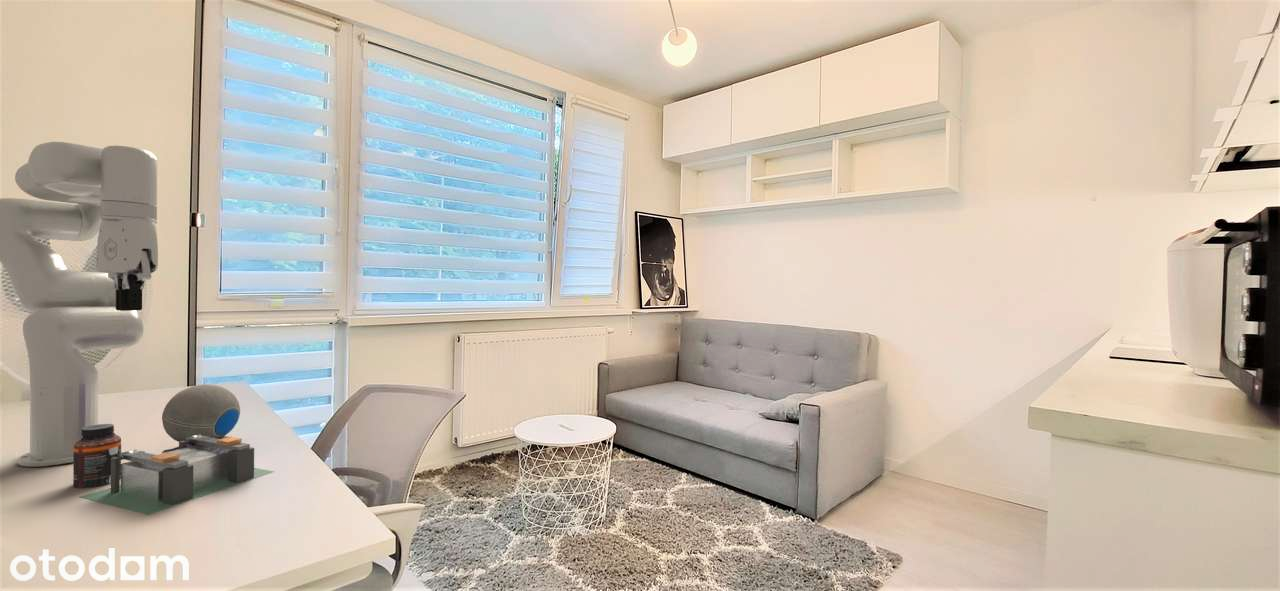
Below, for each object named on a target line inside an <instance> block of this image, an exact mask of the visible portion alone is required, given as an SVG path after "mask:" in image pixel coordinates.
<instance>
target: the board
mask: <svg viewBox="0 0 1280 591" xmlns="http://www.w3.org/2000/svg"><path fill="white" fill-rule="evenodd" d="M205 437H207V436H205ZM178 447H179V449H182V448H186V447H187V441H179V442H178ZM139 452H144V453H146V452H145V451H144V450H139ZM274 472H275V471H274V470H268V469H263V468H260V467H259V468H257V467H255V447H250V448H249V449H246V450H242V451H233V450H230V451H228V479H226V480H223V481H220V482H217V483H214V484H211V485H208V486H205V487H202V488H199V489H196V490H193V465H190V464H188V466H185V467H182V468H178V469H175V470H173V469H168V468H165V469H163V500H162V501H159V502H158V501H153V500H149V499H145V498H141V497H137V496H133V495H128V494H124V493H121V479H120V458H119V457H113V458H111V484H110V487H109V488H106V489H101V490H98V491H95V492H91V493H87V494H84V495H80V496H79V498H81V499H84V500H89V501H93V502H97V503H100V504H104V505H108V506H112V507H116V508H120V509H124V510H129V511H131V512H136V513H140V514H143V515H151V514H153V513H156V512H160V511H162V510H167V509H170V508H172V507H174V506H177V505H181V504H183V503H187V502H190V501H192V500H195V499H198V498H202V497H205V496H207V495H210V494H213V493H216V492H218V491H222V490H224V489H225V490H226V489H228V488H230V487H234V486H236V485H239V484H243V483H245V482H248V481H251V480H252V481H253V480H254V479H257V478H260V477H264V476H266V475H269V474H272V473H274Z"/></svg>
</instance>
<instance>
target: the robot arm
mask: <svg viewBox="0 0 1280 591" xmlns="http://www.w3.org/2000/svg"><path fill="white" fill-rule="evenodd" d="M14 181H15V183H16V185H17V186H18V188H19V189H20V190H21V191H23V192H24V193H25V194H27V195H29V196H31V197H34V198H36V199H35V200H34V199H27V198H14V197H11V198H9V197H8V198H7V197H6V198H5V197H3V198H2V197H1V198H0V264H1V265H2V266H3V267H4V268H5V270H6V272H7V275H8V277H9V280H10V282H11V284H12V287H13V289H14V291H15V293H16V296H17V297H18V299H19V302H20V303H21V305H22V307H23V308H25V309H26V310H27V311H29V312H31V313H30V314H29V315H28V316H27V317H25V319H24V320H23V322H22V336H23V338H24V342H25V346H26V352H27V355H28V365H29V452H28V453H24V454H23V455H21V456H19V457H18V458H17V465H19V466H21V467H28V468H29V467H31V468H34V467H35V468H36V467H49V466H58V465H59V466H60V465H65V464H70V463H73V453H74V444H75V443H76V442H77V441H78V440H80V439H82V437H83V436H82V435H81V434H82V428H84V427H88V426H92V425H99V373H98V370H97V367H96V366H95V365H94V364H93V362H91V361H89V360H88V358H86V357H85V356H84V355H83V354H82V353H84V352H90V351H104V350H116V349H123V348H124V349H125V348H130V347H132V346H135V345H136V344H139V342H140V341H141V340H142V338H143V335H144V324H143V320H142V317H141V315H140V313H139V311H141V310H143V290H144V289H145V282H146V281H148V280H151V278H152V273H155V272H156V271H157V270H158V266H159V246H158V234H157V228H156V225H157V223H158V159H157V157H156V155H155V154H153V152H151V151H148V150H147V149H143V148H137V147H133V146H127V145H125V146H124V145H108V146H106V147H104V148H99V147H93V146H88V145H84V144H83V145H82V144H78V143H77V144H76V143H72V142H67V141H66V142H65V141H48V142H44V143H40V144H37V145H36V146H35V147H34V148H33V149H32V151H31V152H30V154H29V157H28V161H27V163H25V164H22V165H21V166H20V167H19V168H18V169H17V170H16V172H15V175H14ZM37 199H39V200H37ZM96 235H97V236H98V237H97V244H96V257H95V258H96V259H95V268H96V269H97V271H82V270H81V271H78V270H71V269H69V268H68V267H67V265H66V262H65V261H64V259H63V257H62V256H61V255H60V254H59V253H58V252H56V250H54V249H52V248H51V247H49V246H47V245H46V244H44V243H42V242H40V241H38V240H36V239H41V240H56V241H72V242H73V241H74V242H85V241H88V240H92V239H94V237H95V236H96Z"/></svg>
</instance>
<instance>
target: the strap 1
mask: <svg viewBox="0 0 1280 591" xmlns="http://www.w3.org/2000/svg"><path fill="white" fill-rule="evenodd" d="M139 451H140V450H139ZM139 451H138V449H135V448H134V449H131V450H128V451H127V450H126V451H124V452H121V453H119V454H118V457H119V458H120V460H121V461H122V460H125V461H128V462H130V461H134V462H139V463H144V464H149V465H154V466H158V467H163V468H168V469H173V470H175V469H178V468H182V467H185V466H188V461H185V460H180V455H178V454H173V453H164V454H162V453H159V454H160V455H158V454H154V453H149V452H145V451H144V452H145V453H144V452H139Z"/></svg>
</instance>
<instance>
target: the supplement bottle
mask: <svg viewBox="0 0 1280 591" xmlns="http://www.w3.org/2000/svg"><path fill="white" fill-rule="evenodd" d="M81 435H82V436H83V437H82V439H80V440H78V441H77V442H76V443H75V444H74V453H73V462H72V464H73V466H72V467H73V468H72V470H73V476H72V477H73V478H72V482H73V484H72V486H73V488H75V489H92V488H98V487H103V486H108V485H111V458H113V457H118V454H119V453H122V438H121V437H120V435H117V434H116V433H115V426H114V424H113V423H101V424H99V423H98V425H92V426H88V427H84V428H82V434H81ZM121 464H122V460H120V480H121Z"/></svg>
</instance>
